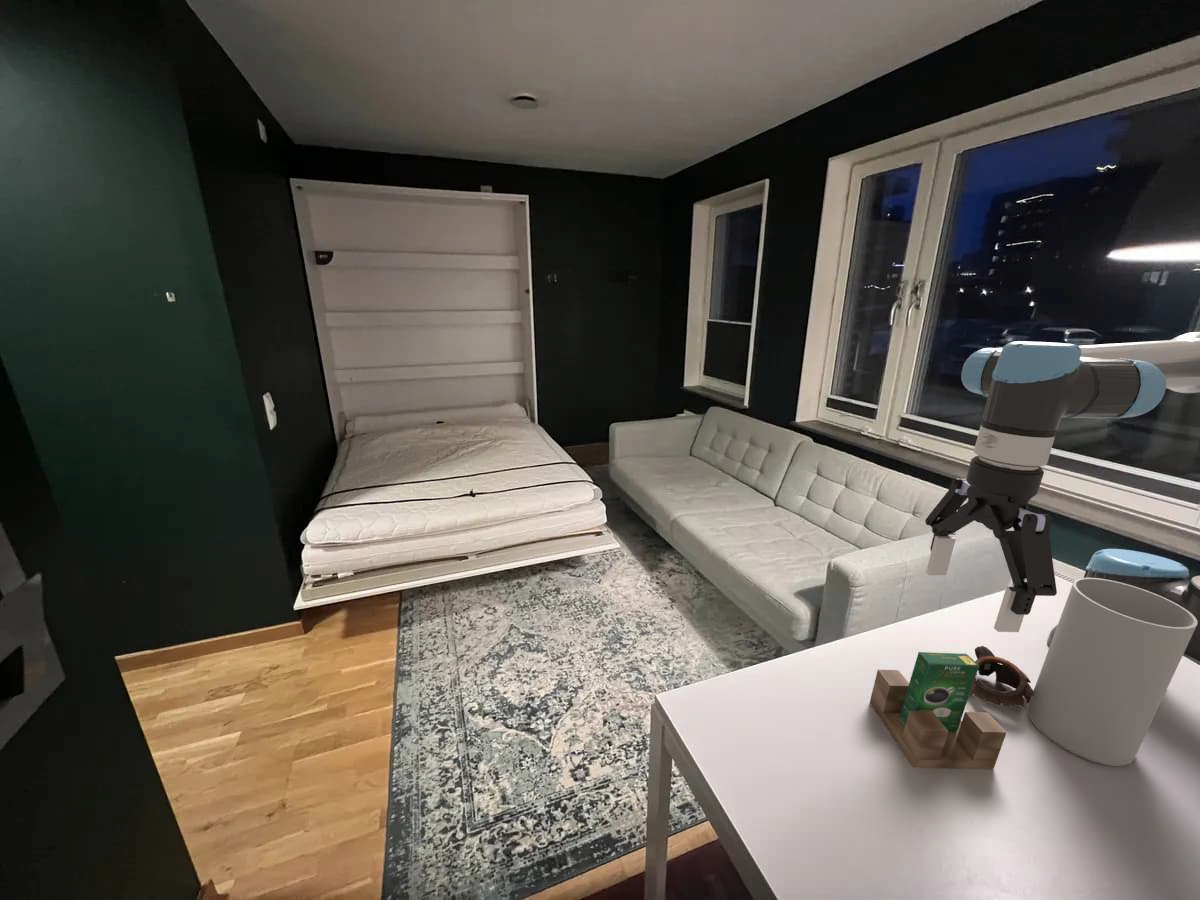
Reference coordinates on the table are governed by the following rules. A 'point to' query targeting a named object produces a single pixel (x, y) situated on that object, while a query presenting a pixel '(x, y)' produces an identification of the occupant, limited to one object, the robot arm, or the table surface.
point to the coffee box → (940, 686)
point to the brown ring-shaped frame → (1001, 680)
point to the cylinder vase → (1108, 669)
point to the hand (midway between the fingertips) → (967, 599)
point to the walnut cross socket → (935, 730)
